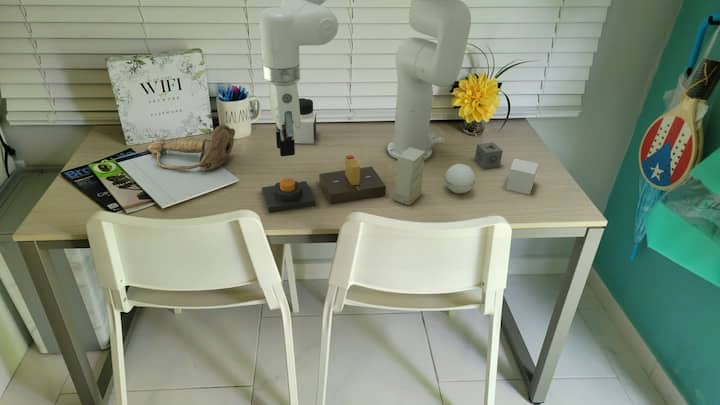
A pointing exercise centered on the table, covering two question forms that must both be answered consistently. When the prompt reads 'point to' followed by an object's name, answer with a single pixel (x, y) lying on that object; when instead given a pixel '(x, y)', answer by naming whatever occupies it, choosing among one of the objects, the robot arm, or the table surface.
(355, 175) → the lock turn
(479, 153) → the dice cube
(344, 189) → the plate
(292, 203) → the black knob base
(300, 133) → the medicine bottle
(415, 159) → the cosmetic box
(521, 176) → the light grey cube
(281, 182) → the bell button
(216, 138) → the sword hilt
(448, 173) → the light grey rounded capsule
